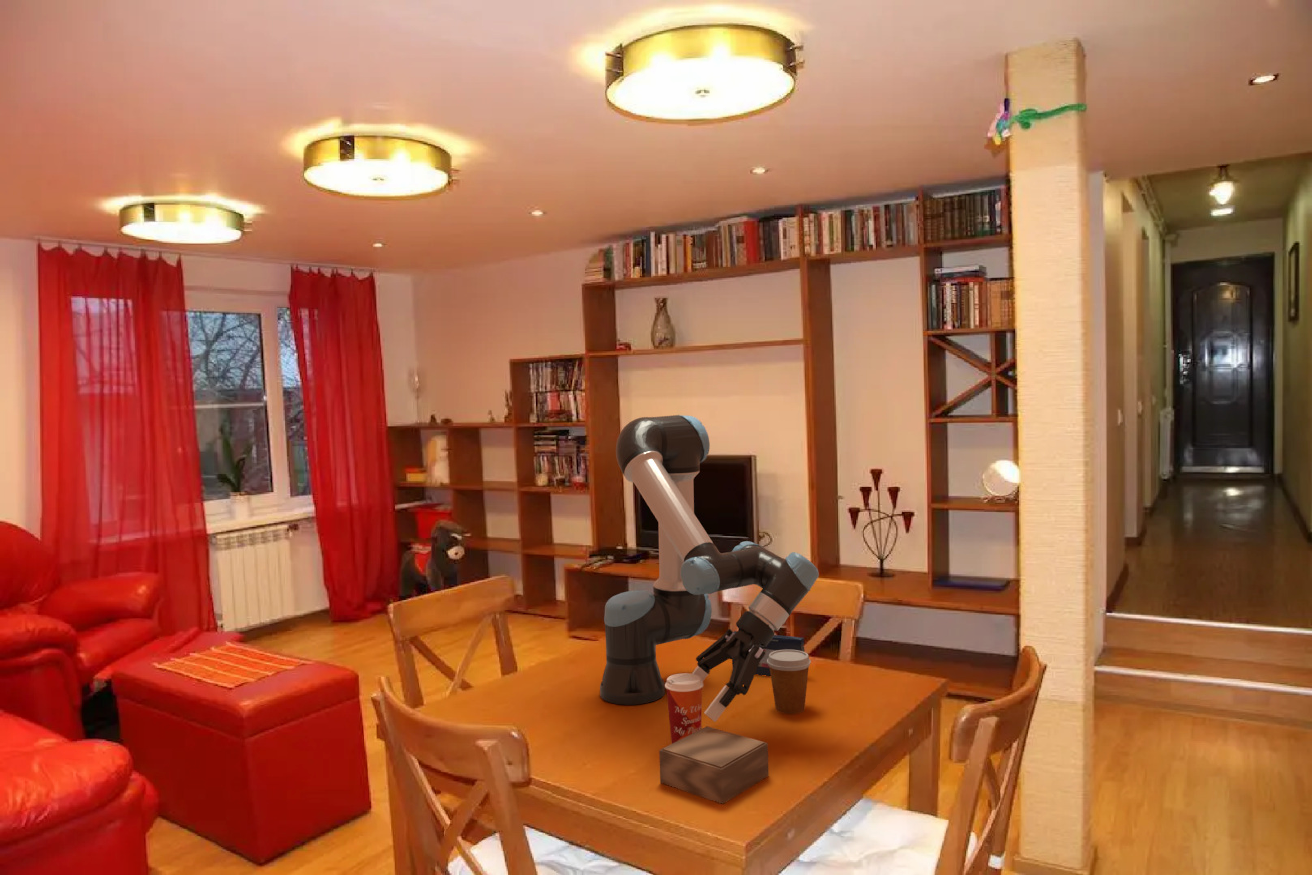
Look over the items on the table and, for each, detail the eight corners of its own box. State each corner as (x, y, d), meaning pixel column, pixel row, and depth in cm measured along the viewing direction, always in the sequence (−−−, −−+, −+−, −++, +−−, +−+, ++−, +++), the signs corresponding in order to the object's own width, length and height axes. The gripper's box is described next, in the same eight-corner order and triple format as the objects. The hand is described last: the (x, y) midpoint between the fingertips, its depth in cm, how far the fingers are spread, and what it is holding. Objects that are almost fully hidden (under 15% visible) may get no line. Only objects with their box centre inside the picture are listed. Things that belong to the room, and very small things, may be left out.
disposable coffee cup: (811, 717, 190) (810, 662, 189) (766, 715, 192) (765, 661, 191) (812, 702, 199) (811, 649, 199) (769, 700, 201) (768, 648, 200)
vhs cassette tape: (731, 672, 223) (730, 632, 222) (736, 668, 225) (735, 629, 225) (801, 681, 214) (800, 640, 213) (806, 677, 216) (804, 637, 216)
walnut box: (660, 782, 161) (659, 748, 161) (707, 756, 171) (706, 725, 171) (722, 804, 152) (721, 768, 151) (768, 775, 162) (767, 741, 162)
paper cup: (678, 759, 171) (676, 687, 170) (660, 745, 178) (657, 676, 177) (713, 750, 174) (711, 680, 174) (694, 737, 181) (691, 669, 181)
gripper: (804, 647, 169) (735, 739, 164) (747, 618, 192) (685, 697, 188) (778, 624, 167) (707, 715, 162) (723, 597, 190) (660, 676, 186)
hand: (695, 706), depth 175 cm, fingers open, 13 cm apart
